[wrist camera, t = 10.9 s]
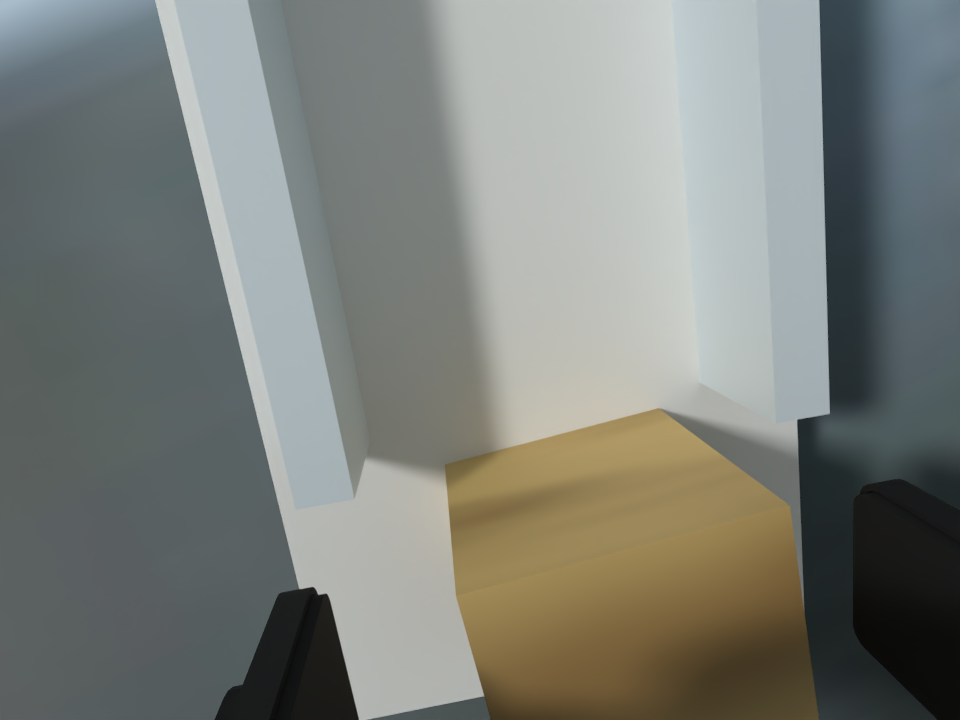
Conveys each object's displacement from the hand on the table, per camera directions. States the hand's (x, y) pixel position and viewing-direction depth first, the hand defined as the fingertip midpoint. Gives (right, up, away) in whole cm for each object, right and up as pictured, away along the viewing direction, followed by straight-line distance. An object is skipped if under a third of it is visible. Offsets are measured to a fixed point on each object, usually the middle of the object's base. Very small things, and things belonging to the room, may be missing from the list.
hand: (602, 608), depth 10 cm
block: (0, 0, +4) cm, 4 cm away
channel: (-2, +8, +3) cm, 9 cm away
